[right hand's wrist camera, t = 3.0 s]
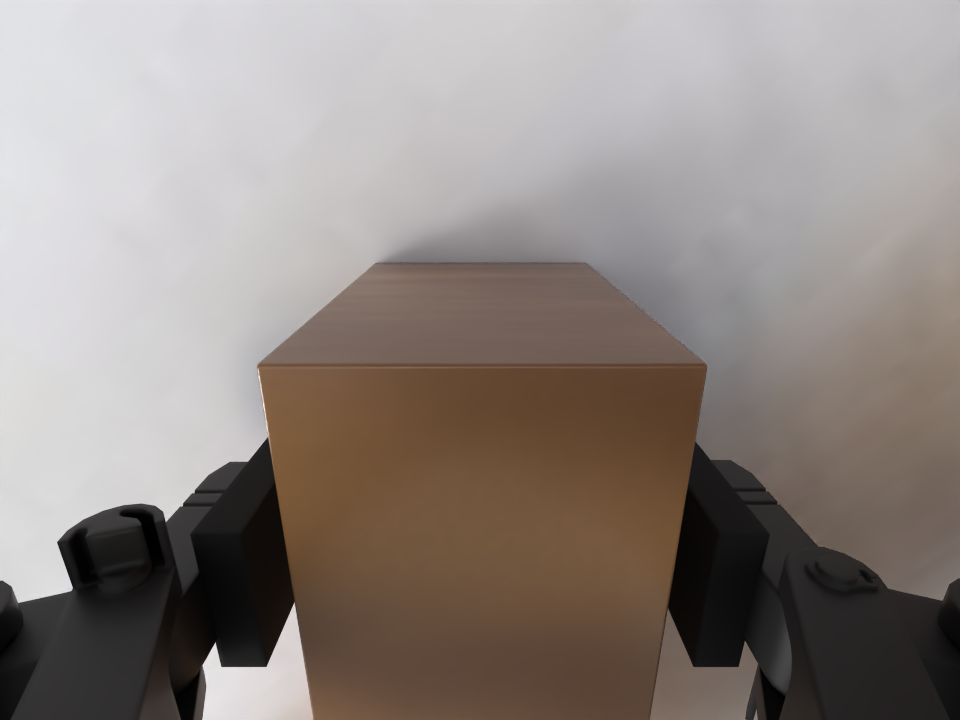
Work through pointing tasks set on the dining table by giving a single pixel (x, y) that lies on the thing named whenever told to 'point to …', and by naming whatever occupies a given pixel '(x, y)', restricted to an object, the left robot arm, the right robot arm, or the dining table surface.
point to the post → (481, 492)
